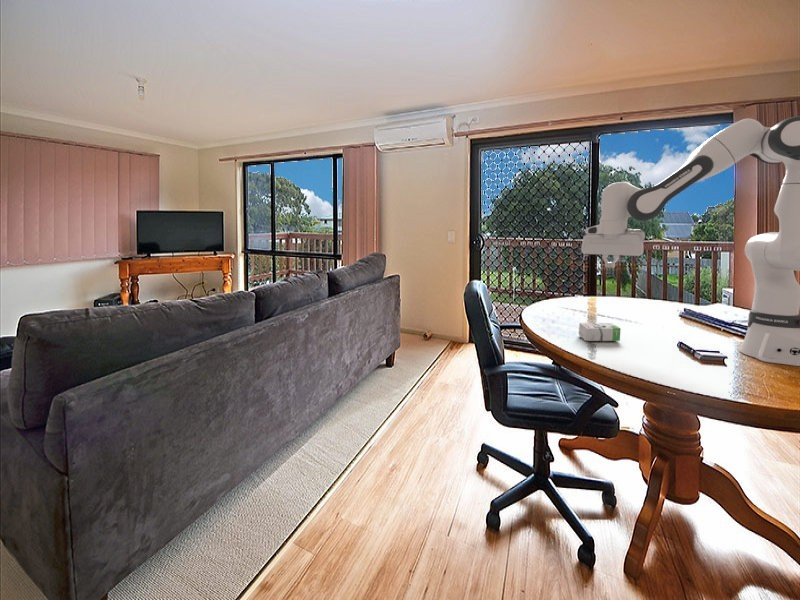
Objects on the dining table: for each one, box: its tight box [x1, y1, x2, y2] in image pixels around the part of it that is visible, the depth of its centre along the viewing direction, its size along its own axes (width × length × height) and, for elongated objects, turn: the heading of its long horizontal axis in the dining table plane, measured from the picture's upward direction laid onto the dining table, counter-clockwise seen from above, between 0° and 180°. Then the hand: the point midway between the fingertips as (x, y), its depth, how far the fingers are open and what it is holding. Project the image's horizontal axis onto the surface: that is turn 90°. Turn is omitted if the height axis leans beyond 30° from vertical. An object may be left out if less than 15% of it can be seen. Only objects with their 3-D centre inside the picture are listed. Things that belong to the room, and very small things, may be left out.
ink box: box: [578, 322, 622, 342], centre depth 151 cm, size 9×5×12 cm
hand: (609, 267), depth 150 cm, fingers closed
